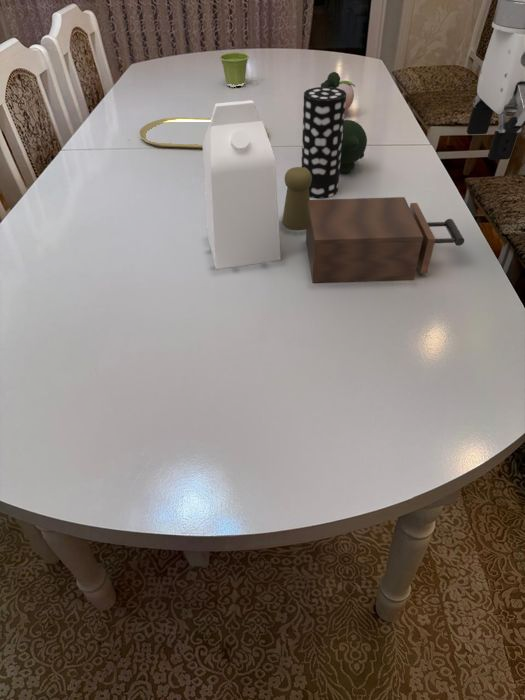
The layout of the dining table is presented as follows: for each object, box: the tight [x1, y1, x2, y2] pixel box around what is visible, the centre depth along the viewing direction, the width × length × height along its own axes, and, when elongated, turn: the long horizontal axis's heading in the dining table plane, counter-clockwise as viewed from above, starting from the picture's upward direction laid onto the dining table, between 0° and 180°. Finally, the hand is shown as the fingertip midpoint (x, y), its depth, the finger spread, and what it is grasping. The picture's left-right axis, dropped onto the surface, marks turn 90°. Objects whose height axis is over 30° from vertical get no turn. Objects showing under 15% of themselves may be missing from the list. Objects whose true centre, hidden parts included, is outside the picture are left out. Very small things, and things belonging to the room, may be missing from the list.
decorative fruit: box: [337, 80, 356, 112], centre depth 141 cm, size 9×8×10 cm
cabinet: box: [305, 196, 423, 284], centre depth 88 cm, size 18×14×9 cm
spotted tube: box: [300, 86, 346, 199], centre depth 104 cm, size 8×8×20 cm
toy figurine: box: [320, 71, 368, 174], centre depth 116 cm, size 9×19×25 cm
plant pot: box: [219, 52, 250, 89], centre depth 164 cm, size 9×9×9 cm
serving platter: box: [138, 116, 269, 149], centre depth 134 cm, size 19×35×2 cm, turn 82°
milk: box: [202, 99, 281, 270], centre depth 86 cm, size 12×12×26 cm
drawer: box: [409, 202, 465, 274], centre depth 88 cm, size 23×12×7 cm, turn 91°
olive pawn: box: [281, 166, 312, 231], centre depth 97 cm, size 6×6×11 cm
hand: (486, 145), depth 77 cm, fingers open, 9 cm apart
